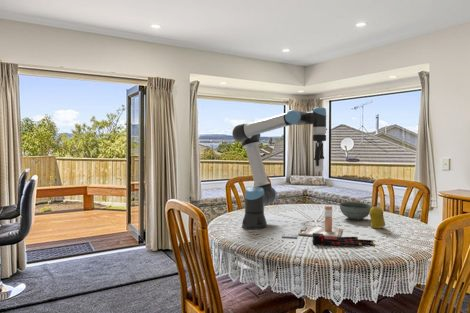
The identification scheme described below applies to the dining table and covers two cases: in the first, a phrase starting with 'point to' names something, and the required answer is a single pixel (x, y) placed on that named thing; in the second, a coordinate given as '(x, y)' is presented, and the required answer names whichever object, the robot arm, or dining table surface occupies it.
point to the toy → (340, 240)
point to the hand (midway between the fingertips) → (319, 170)
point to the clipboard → (319, 231)
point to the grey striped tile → (289, 235)
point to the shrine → (376, 217)
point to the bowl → (355, 210)
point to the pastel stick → (328, 218)
